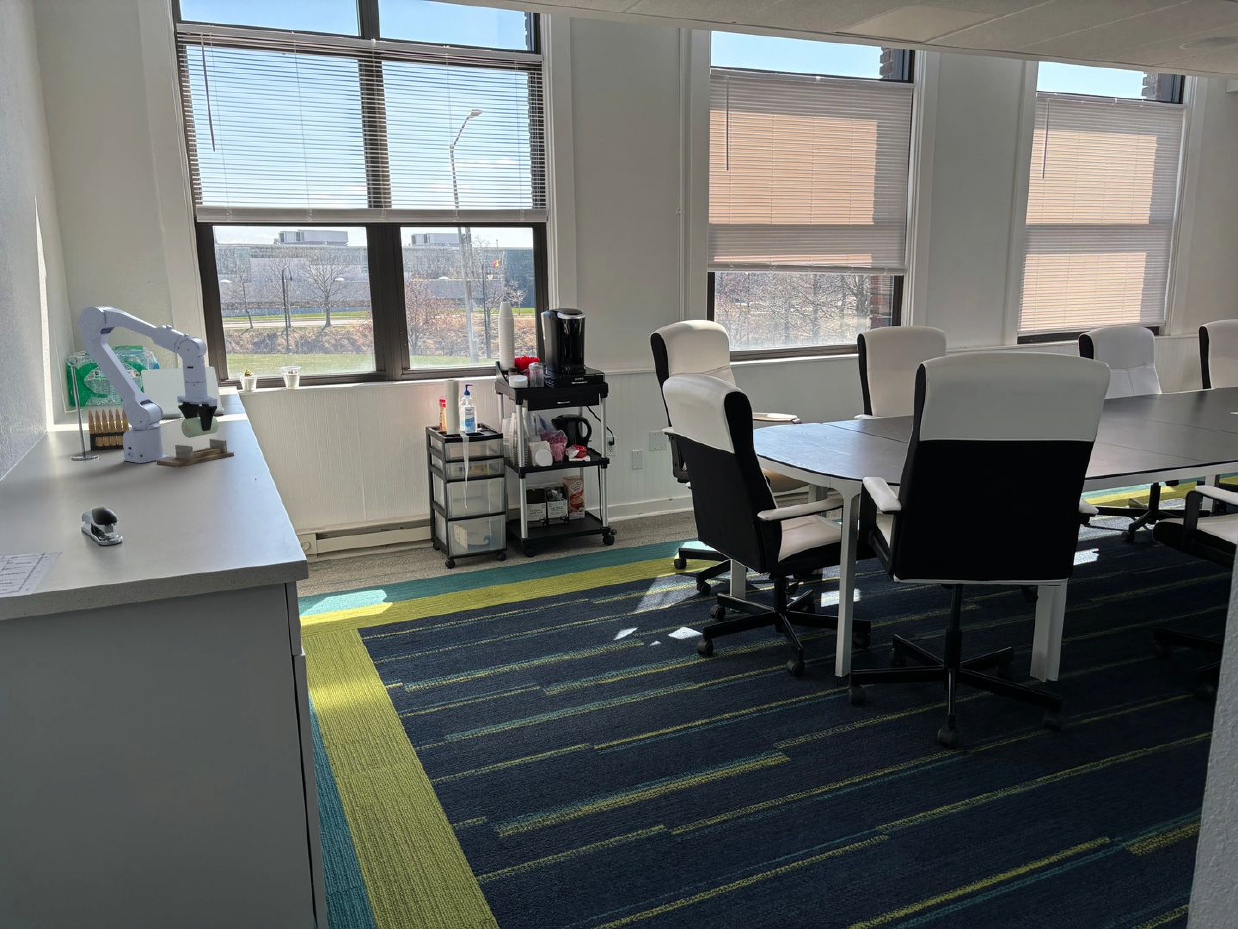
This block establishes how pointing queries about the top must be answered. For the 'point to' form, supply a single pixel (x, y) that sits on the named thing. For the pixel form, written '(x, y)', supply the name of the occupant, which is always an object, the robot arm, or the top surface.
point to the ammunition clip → (107, 431)
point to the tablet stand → (175, 389)
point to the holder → (197, 454)
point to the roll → (197, 427)
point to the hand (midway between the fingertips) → (199, 429)
